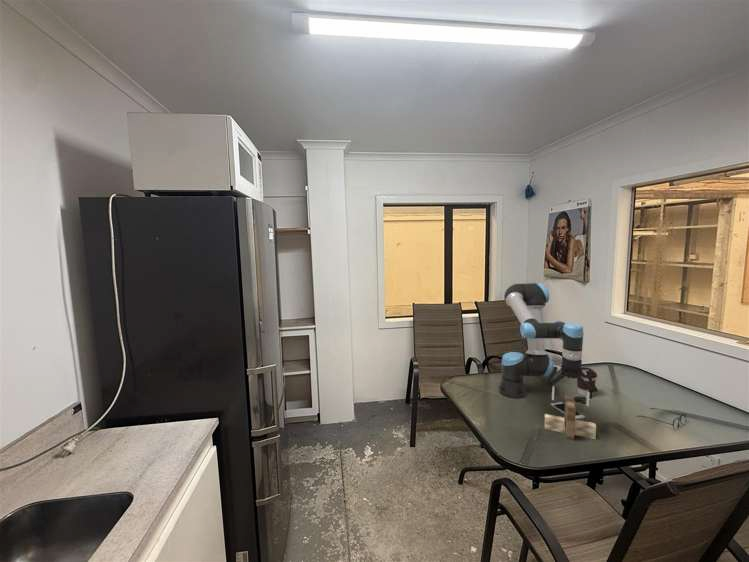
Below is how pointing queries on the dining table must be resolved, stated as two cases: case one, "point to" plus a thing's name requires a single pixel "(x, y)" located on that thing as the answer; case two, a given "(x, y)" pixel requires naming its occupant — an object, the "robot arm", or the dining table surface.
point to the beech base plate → (580, 426)
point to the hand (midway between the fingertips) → (569, 401)
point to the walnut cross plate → (569, 417)
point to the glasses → (668, 423)
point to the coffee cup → (581, 388)
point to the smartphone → (561, 407)
